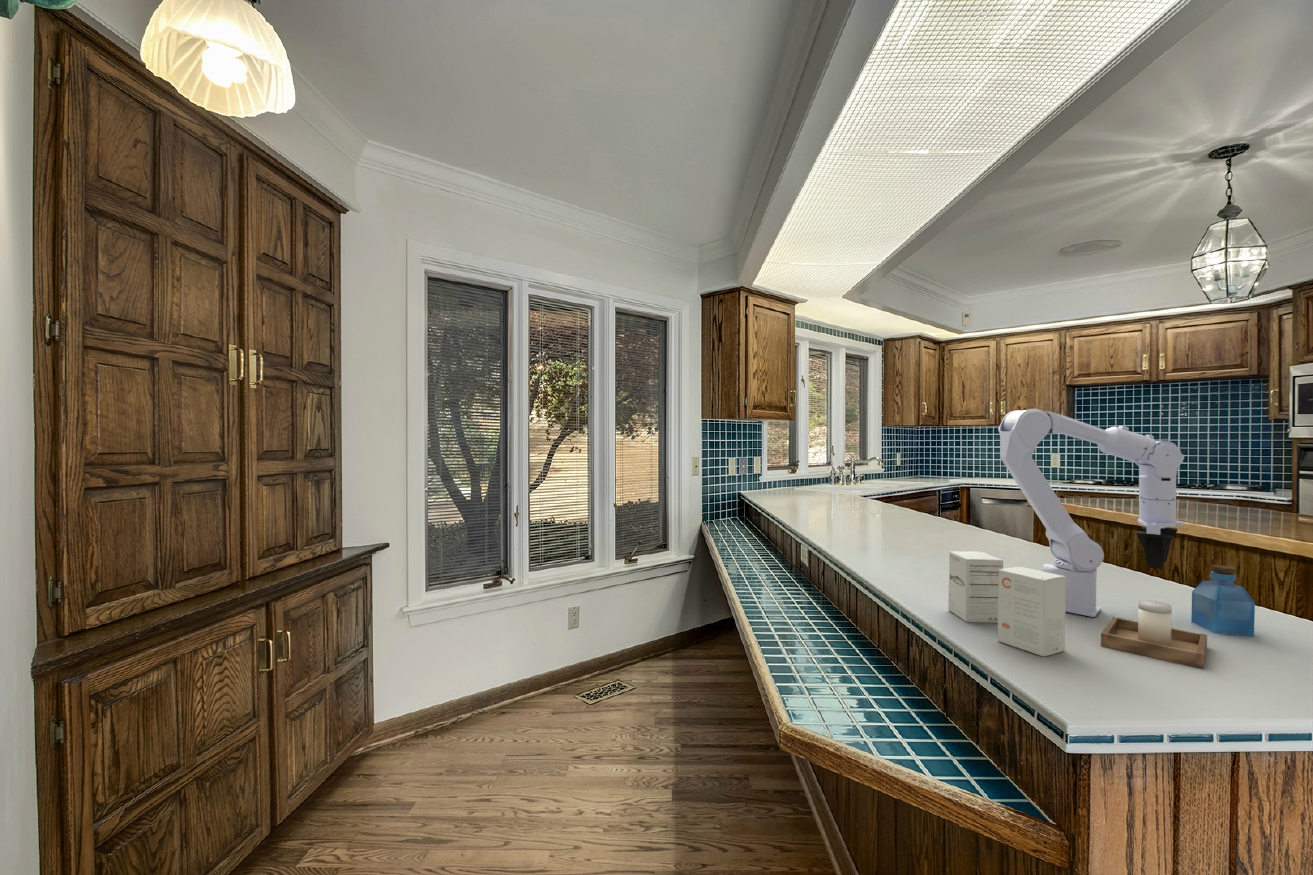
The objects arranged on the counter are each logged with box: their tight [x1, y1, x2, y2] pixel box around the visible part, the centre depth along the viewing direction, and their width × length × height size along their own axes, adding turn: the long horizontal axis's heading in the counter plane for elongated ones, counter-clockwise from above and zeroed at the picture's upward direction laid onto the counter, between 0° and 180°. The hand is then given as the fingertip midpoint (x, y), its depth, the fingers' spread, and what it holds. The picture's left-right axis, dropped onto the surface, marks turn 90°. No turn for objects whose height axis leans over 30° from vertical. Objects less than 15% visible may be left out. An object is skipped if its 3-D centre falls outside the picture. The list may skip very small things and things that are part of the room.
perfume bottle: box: [1190, 564, 1256, 637], centre depth 110 cm, size 6×6×12 cm
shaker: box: [1137, 599, 1173, 647], centre depth 100 cm, size 4×4×7 cm
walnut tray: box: [1100, 616, 1208, 669], centre depth 100 cm, size 13×13×2 cm
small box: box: [997, 566, 1066, 657], centre depth 100 cm, size 8×6×13 cm
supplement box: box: [947, 550, 1004, 624], centre depth 115 cm, size 7×7×13 cm
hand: (1157, 564), depth 117 cm, fingers open, 7 cm apart
